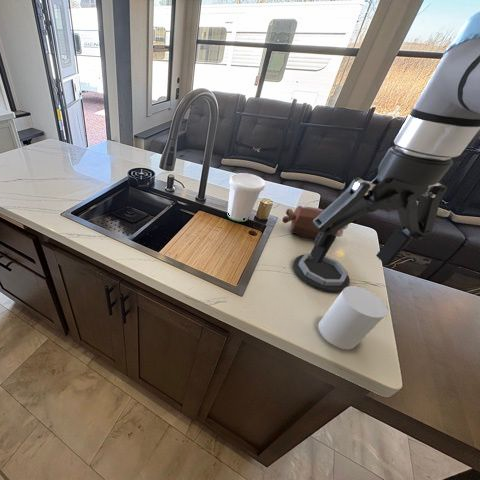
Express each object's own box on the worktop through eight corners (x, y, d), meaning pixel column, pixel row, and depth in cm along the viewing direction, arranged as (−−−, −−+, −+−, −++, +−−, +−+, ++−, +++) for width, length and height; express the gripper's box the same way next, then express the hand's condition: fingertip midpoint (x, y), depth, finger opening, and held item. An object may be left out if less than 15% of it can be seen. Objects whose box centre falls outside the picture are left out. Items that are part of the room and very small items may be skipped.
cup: (216, 217, 99) (224, 181, 89) (229, 204, 107) (237, 170, 98) (247, 228, 93) (259, 191, 84) (258, 214, 102) (269, 179, 92)
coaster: (359, 293, 71) (364, 286, 69) (306, 292, 70) (310, 285, 69) (330, 257, 83) (334, 250, 81) (285, 256, 82) (288, 249, 80)
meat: (335, 232, 94) (349, 208, 88) (341, 250, 86) (357, 226, 79) (278, 220, 99) (288, 196, 93) (278, 236, 91) (289, 212, 84)
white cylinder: (364, 350, 57) (397, 318, 50) (329, 348, 57) (356, 316, 50) (344, 319, 64) (370, 286, 56) (312, 317, 64) (334, 285, 56)
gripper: (478, 146, 40) (396, 248, 53) (325, 139, 40) (279, 245, 53) (533, 164, 34) (425, 274, 47) (354, 156, 34) (295, 271, 47)
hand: (348, 259), depth 50 cm, fingers open, 13 cm apart
